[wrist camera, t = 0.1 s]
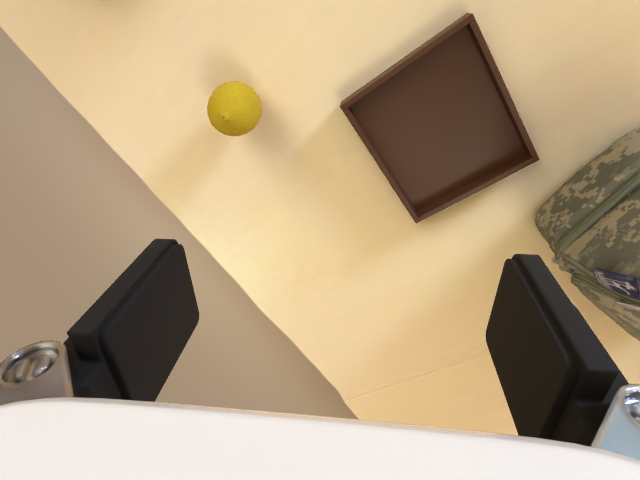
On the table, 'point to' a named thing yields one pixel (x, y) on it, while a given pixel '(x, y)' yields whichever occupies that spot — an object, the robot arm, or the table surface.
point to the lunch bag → (601, 231)
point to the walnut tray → (441, 121)
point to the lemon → (234, 108)
